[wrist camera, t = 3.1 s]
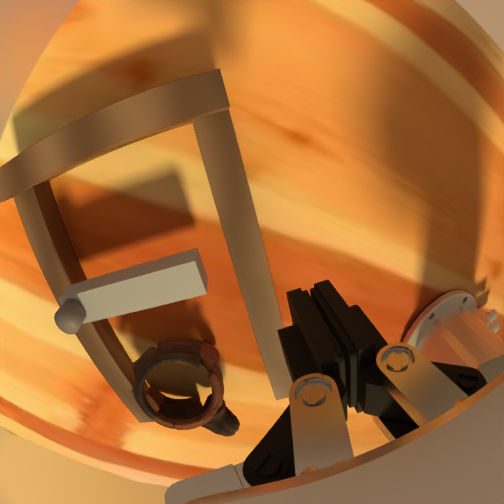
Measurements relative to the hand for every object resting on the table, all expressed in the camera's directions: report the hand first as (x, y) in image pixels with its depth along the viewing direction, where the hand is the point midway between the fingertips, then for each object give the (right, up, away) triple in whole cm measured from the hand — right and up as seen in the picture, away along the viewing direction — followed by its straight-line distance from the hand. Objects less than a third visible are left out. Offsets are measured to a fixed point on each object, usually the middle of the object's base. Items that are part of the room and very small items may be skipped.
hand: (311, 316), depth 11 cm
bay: (-10, -1, +13) cm, 16 cm away
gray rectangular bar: (-11, 0, +9) cm, 14 cm away
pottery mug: (-9, -10, +17) cm, 21 cm away
